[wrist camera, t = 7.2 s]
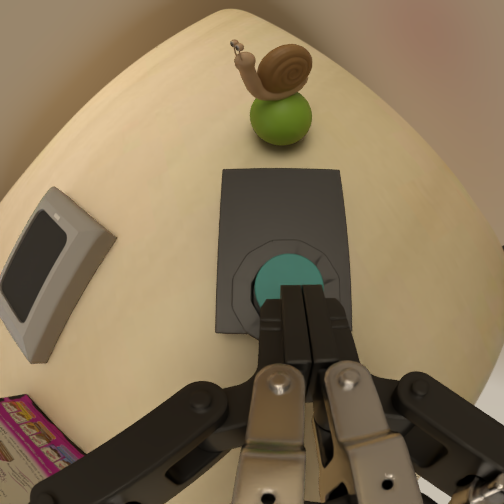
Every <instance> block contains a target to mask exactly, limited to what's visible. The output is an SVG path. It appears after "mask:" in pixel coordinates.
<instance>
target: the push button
mask: <svg viewBox="0 0 504 504" xmlns="http://www.w3.org/2000/svg"><path fill="white" fill-rule="evenodd" d="M318 284H321V285H322V288H323V292H324V284H323V279H322V276H321V273H320V271H319V270H318V268H317V267H316V266H315V265H314V263H312V262H311V261H310V260H309V259H307V258H305V257H303V256H301V255H297V254H281V255H278V256H275V257H273V258H271V259H270V260H268V261H267V262H266V263H265V264H264V265H263V266H262V267H261V269H260V270H259V272H258V274H257V277H256V280H255V287H254V288H255V296H256V299H257V302H258V305H259V307H260V308H261V306H262V305H263V303H264V302H265V300H266V299H280V286H281V285H318Z"/></svg>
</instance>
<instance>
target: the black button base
mask: <svg viewBox="0 0 504 504" xmlns="http://www.w3.org/2000/svg"><path fill="white" fill-rule="evenodd" d="M281 254H297V255H301V256H303V257H305V258H307V259H309V260H310V261H311V262H312V263H314V265H315V266H316V267H317V268H318V270H319V271H320V273H321V276H322V279H323V284H324V295H325V298H336V299H337V300H338V301H339V302H340V303H341V304H342V306H343V307H344V310H345V313H346V316H347V319H348V323H349V328H350V330H351V331H352V300H351V277H350V261H349V248H348V236H347V226H346V216H345V207H344V199H343V191H342V184H341V177H340V170H332V169H300V168H251V169H223V172H222V187H221V203H220V220H219V239H218V261H217V288H216V324H215V332H216V333H223V334H249V335H250V336H252V337H254V338H256V339H257V340H259V328H260V307H259V305H258V302H257V299H256V296H255V288H254V287H255V280H256V277H257V274H258V272H259V270H260V269H261V267H262V266H263V265H264V264H265V263H266V262H267V261H268V260H270V259H271V258H273V257H275V256H278V255H281Z"/></svg>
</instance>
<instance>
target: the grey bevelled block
mask: <svg viewBox="0 0 504 504" xmlns="http://www.w3.org/2000/svg"><path fill="white" fill-rule="evenodd" d="M116 239H117V238H116V237H115V236H114V235H113V234H111V233H110V232H109V231H108V230H106V229H105V228H104V227H103V226H102V225H100V224H99V223H98V222H97V221H96V220H94V219H93V218H92V217H91V216H90V215H89V214H87V213H86V212H85V211H84V210H83V209H82V208H80V207H79V206H78V205H77V204H76V203H75V202H73V201H72V200H71V199H70V198H69V197H68V196H67V195H65V194H64V193H63V192H62V191H60V190H59V189H58V188H56V187H52V188H50V189H49V190H48V191H47V193H46V194H45V195H44V196H43V198H42V199H41V201H40V202H39V204H38V206H37V207H36V209H35V210H34V212H33V214H32V215H31V217H30V219H29V220H28V222H27V224H26V226H25V227H24V229H23V231H22V233H21V234H20V236H19V238H18V240H17V242H16V244H15V246H14V248H13V250H12V252H11V254H10V256H9V258H8V260H7V262H6V264H5V266H4V268H3V270H2V273H1V275H0V318H1V319H2V321H3V323H4V325H5V326H6V328H7V330H8V331H9V333H10V334H11V336H12V338H13V339H14V341H15V342H16V344H17V345H18V347H19V348H20V350H21V351H22V353H23V354H24V355H25V357H26V358H27V360H28V361H29V362H30V364H38V363H47V361H48V359H49V356H50V354H51V352H52V350H53V348H54V346H55V344H56V342H57V340H58V338H59V336H60V334H61V332H62V330H63V328H64V326H65V324H66V322H67V320H68V318H69V316H70V314H71V313H72V311H73V309H74V307H75V305H76V303H77V302H78V300H79V298H80V296H81V295H82V293H83V291H84V289H85V288H86V286H87V284H88V283H89V281H90V279H91V278H92V276H93V274H94V273H95V271H96V270H97V268H98V266H99V265H100V263H101V262H102V260H103V258H104V257H105V255H106V254H107V252H108V251H109V249H110V248H111V246H112V245H113V243H114V242H115V240H116Z"/></svg>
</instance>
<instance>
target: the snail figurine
mask: <svg viewBox="0 0 504 504" xmlns="http://www.w3.org/2000/svg"><path fill="white" fill-rule="evenodd" d="M230 44H231V46H232V47H234V52H235V55H236V57H235V59H234V62H235V66H236V68H237V69H238V70H239V72H240V75H241V78H242V80H243V82H244V84H245V86H246V88H247V90H248V91H249V92H250V93H251V94H252V95H253V96H254V97H255V98H256V99H255V100H254V102H253V104H252V106H251V110H250V121H251V125H252V127H253V129H254V131H255V132H256V134H257V135H258V136H259V137H260V138H261V139H263V140H264V141H266V142H268V143H270V144H274V145H290V144H293V143H295V142H297V141H299V140H300V139H302V138H303V137H304V136H305V135H306V133H307V132H308V130H309V128H310V126H311V121H312V112H311V108H310V106H309V104H308V102H307V100H306V99H305V98H304V97H303V96H302V95H301V94H300V93H298V91H299V90H301V89H302V88H303V86H304V85H305V84H306V82H307V80H308V75H309V73H310V71H311V69H312V57H311V55H310V53H309V52H308V51H307V50H306V49H305V48H304V47H302V46H299V45H296V44H287V45H282V46H279V47H277V48H275V49H273V50H272V51H270V52H269V53H268V54H267V55H266V56H265V57H264V58H263V59H262V61H261V62H260V64H259V67H258V70H257V72H256V70H255V67H254V66H255V57H254V55H253V54H251V53H249V52H241V53H240V51H242V50H243V49H244V46H243V44H240V43H239V42H238V41H237V40H232V41H231V42H230ZM235 48H236V50H237V51H239V54H238V55H237V54H236V51H235Z"/></svg>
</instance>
